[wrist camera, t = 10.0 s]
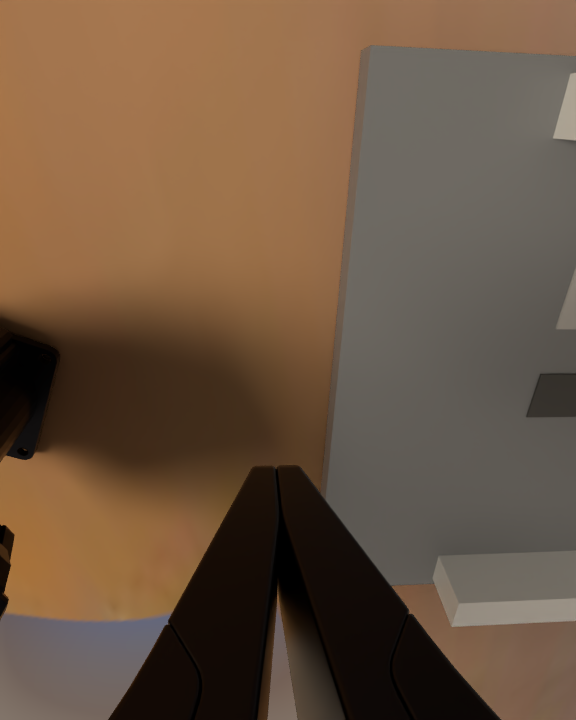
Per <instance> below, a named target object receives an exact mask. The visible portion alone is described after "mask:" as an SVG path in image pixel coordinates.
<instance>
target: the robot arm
mask: <svg viewBox="0 0 576 720" xmlns="http://www.w3.org/2000/svg"><path fill="white" fill-rule="evenodd" d="M42 354H46V355H48V356H49V357H50V358H51V360H47V359H45V358H44V357H43V355H42ZM59 361H60V354H59V352H58V351H57V350H56V349H55V348H54V347H52V346H50V345H47V344H43V343H40V342H37V341H34V340H31V339H28V338H25V337H22V336H19V335H16V334H13V333H11V332H9V331H8V330H6V329H3V328H0V462H1V461H2V459H3V458H4V456H5V455H7V456H10V457H14V458H18V459H23V460H27V459H30V458H32V457H33V455H34V453H35V452H36V450H37V447H38V443H39V439H40V435H41V431H42V427H43V423H44V420H45V416H46V412H47V408H48V404H49V400H50V396H51V392H52V388H53V384H54V380H55V376H56V372H57V368H58V365H59ZM22 448H25V449H27V450H28V451H26V450H23V449H22ZM13 541H14V534H13V533H12V532H11V531H10V530H9V528H8V527H7V526H5V525H3V526H1V525H0V620H1V618H2V616H3V614H4V613H5V611H6V608H7V604H8V600H9V599H8V597H7V596H6V595H5V594H4V591H5V586H6V582H7V578H8V575H9V571H10V567H11V564H10V558H11V552H12V547H13ZM277 589H278V594H279V602H280V609H281V616H282V622H283V628H284V635H285V641H286V648H287V654H288V660H289V667H290V673H291V680H292V686H293V692H294V699H295V705H296V712H297V718H298V720H501V719H500V718H499V717H498V716H497V715H496V713H495V712H494V711H493V710H492V709H491V708H490V707H489V706H488V705H487V704H486V703H485V701H484V700H483V699H482V698H481V697H480V696H479V695H478V694H477V692H476V691H475V690H474V689H473V688H472V687H471V686H470V685H469V683H468V682H467V681H466V680H465V679H464V678H463V677H462V676H461V674H460V673H459V672H458V671H457V670H456V669H455V668H454V666H453V665H452V664H451V663H450V661H449V660H448V659H447V658H446V656H445V655H444V654H443V653H442V651H441V650H440V649H439V648H438V646H437V645H436V644H435V643H434V641H433V640H432V639H431V638H430V636H429V635H428V634H427V633H426V631H425V630H424V629H423V627H422V626H421V625H420V623H419V622H418V621H417V619H416V618H415V617H414V615H413V614H409V609H408V608H407V606H406V605H405V604H404V602H403V601H402V600H401V599H400V597H399V596H398V595H397V593H396V592H395V591H394V589H393V588H392V587H391V585H390V584H389V583H388V581H387V580H386V579H385V578H384V576H383V575H382V574H381V572H380V571H379V570H378V568H377V567H376V566H375V564H374V563H373V562H372V560H371V559H370V558H369V556H368V555H367V554H366V553H365V551H364V550H363V549H362V547H361V546H360V545H359V543H358V542H357V541H356V539H355V538H354V537H353V535H352V534H351V533H350V532H349V530H348V529H347V528H346V526H345V525H344V524H343V522H342V521H341V520H340V518H339V517H338V516H337V514H336V513H335V512H334V511H333V509H332V508H331V507H330V505H329V504H328V503H327V501H326V500H325V499H324V497H323V496H322V495H321V493H320V492H319V491H318V489H317V488H316V487H315V486H314V484H313V483H312V482H311V480H310V479H309V478H308V476H307V475H306V474H305V472H304V471H303V470H302V468H301V467H300V466H298V465H280V466H278V467H277V469H276V468H275V467H274V466H254V467H253V468H252V469H251V471H250V472H249V474H248V476H247V478H246V480H245V481H244V483H243V485H242V487H241V489H240V491H239V492H238V494H237V496H236V498H235V500H234V501H233V503H232V505H231V507H230V509H229V511H228V512H227V514H226V516H225V518H224V520H223V522H222V523H221V525H220V527H219V529H218V531H217V532H216V534H215V536H214V538H213V540H212V542H211V543H210V545H209V547H208V549H207V551H206V552H205V554H204V556H203V558H202V560H201V562H200V563H199V565H198V567H197V569H196V571H195V572H194V574H193V576H192V578H191V580H190V582H189V583H188V585H187V587H186V589H185V591H184V592H183V594H182V596H181V598H180V600H179V602H178V603H177V605H176V607H175V609H174V611H173V612H172V614H171V616H170V618H169V620H168V625H165V627H164V628H163V630H162V632H161V634H160V636H159V637H158V639H157V641H156V643H155V645H154V647H153V648H152V650H151V652H150V654H149V655H148V657H147V659H146V660H145V662H144V664H143V665H142V667H141V669H140V671H139V672H138V674H137V676H136V677H135V679H134V681H133V682H132V684H131V686H130V687H129V689H128V690H127V692H126V694H125V695H124V697H123V698H122V699H121V701H120V703H119V704H118V706H117V707H116V708H115V710H114V712H113V713H112V715H111V716H110V718H109V719H108V720H267V717H268V705H269V693H270V680H271V668H272V656H273V645H274V633H275V621H276V609H277ZM408 614H409V615H408Z"/></svg>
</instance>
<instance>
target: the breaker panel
mask: <svg viewBox="0 0 576 720" xmlns="http://www.w3.org/2000/svg"><path fill="white" fill-rule="evenodd" d="M321 495H322V496H323V497H324V499H325V500H326V501H327V503H328V504H329V505H330V507H331V508H332V509H333V511H334V512H335V513H336V514H337V516H338V517H339V518H340V520H341V521H342V522H343V524H344V525H345V526H346V528H347V529H348V530H349V532H350V533H351V534H352V535H353V537H354V538H355V539H356V541H357V542H358V543H359V545H360V546H361V547H362V549H363V550H364V551H365V553H366V554H367V555H368V556H369V558H370V559H371V560H372V562H373V563H374V564H375V566H376V567H377V568H378V570H379V571H380V572H381V574H382V575H383V576H384V578H385V579H386V580H387V581H388V583H389V584H390V585H391V586H392V585H416V584H435V586H436V589H437V591H438V594H439V596H440V599H441V602H442V604H443V607H444V609H445V612H446V614H447V617H448V620H449V622H450V625H451V627H459V626H480V625H500V624H520V623H541V622H561V621H576V56H563V55H544V54H525V53H506V52H487V51H469V50H450V49H431V48H412V47H393V46H375V45H371V46H369V47H367V48H365V49H363V50H361V58H360V69H359V80H358V91H357V102H356V112H355V123H354V134H353V145H352V156H351V167H350V178H349V189H348V200H347V210H346V221H345V232H344V243H343V254H342V265H341V276H340V287H339V298H338V308H337V319H336V330H335V341H334V352H333V363H332V374H331V385H330V396H329V406H328V417H327V428H326V439H325V450H324V461H323V472H322V483H321Z"/></svg>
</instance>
